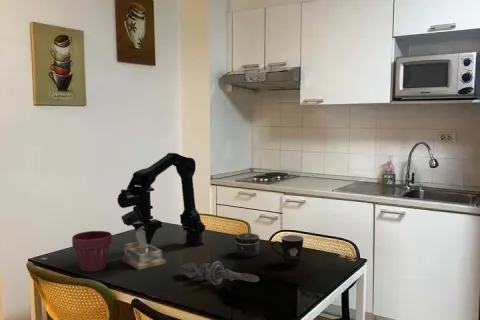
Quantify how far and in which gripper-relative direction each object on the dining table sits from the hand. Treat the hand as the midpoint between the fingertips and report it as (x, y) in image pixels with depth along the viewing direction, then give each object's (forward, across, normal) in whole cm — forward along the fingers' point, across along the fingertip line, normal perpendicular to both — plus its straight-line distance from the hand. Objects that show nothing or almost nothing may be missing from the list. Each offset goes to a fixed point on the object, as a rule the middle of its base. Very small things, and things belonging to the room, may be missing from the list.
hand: (144, 242), depth 180 cm
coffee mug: (+8, +37, +43) cm, 57 cm away
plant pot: (+8, -7, -18) cm, 21 cm away
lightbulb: (+5, 0, 0) cm, 5 cm away
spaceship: (+8, +38, +8) cm, 39 cm away
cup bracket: (+8, 0, 0) cm, 8 cm away
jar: (+8, +18, +38) cm, 43 cm away
